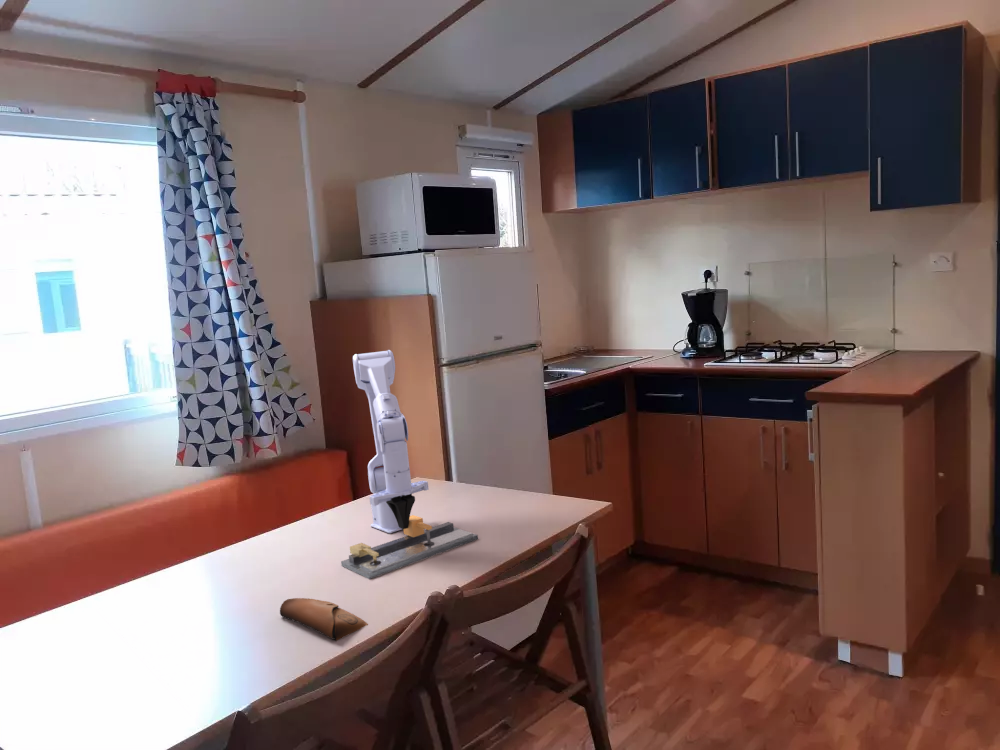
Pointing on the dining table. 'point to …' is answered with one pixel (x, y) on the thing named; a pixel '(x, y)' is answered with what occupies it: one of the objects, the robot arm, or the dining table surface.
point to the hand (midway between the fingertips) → (403, 527)
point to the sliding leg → (417, 527)
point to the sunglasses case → (321, 617)
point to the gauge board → (404, 550)
